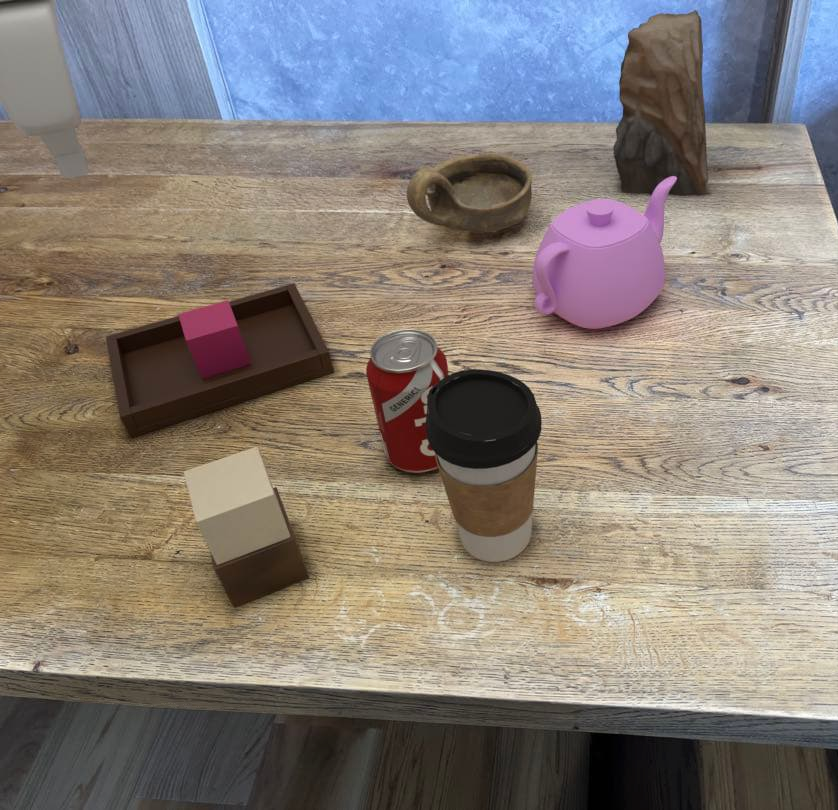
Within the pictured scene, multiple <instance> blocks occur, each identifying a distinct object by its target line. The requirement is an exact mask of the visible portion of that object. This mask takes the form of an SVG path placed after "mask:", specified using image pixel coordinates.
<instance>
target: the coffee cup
mask: <svg viewBox="0 0 838 810" xmlns="http://www.w3.org/2000/svg"><path fill="white" fill-rule="evenodd" d="M542 425H543V424H542V412H541V410H540V407H539V405H538V404H537V400H536V396H535V394H534V393H533V391H532V390H531V388H530V387H529V386H528V385H527V384H526V383H525V382H523V381H522V380H521V379H519V378H516V377H515V376H513V375H510V374H508V373H504V372H500V371H497V370H491V369H483V368H481V369H480V368H477V369H476V368H473V369H463V370H458V371H456V372H452V373H449V375H448V376H447V377H445V378H443V379H442V380H440V381H439V382H438V383H437V384H436V385H434V386H433V387H432V388H431V389H430V391H429V394H428V399H427V416H426V423H425V427H426V433H427V440H428V442H429V445H430V447H431V448H432V449H433V451H434V452H435V457H436V462H437V465H438V468H437V469H438V471H439V475H440V477H441V480H442V484H443V487H444V491H445V493H446V497H447V500H448V503H449V506H450V509H451V512H452V516H453V518H454V520H455V525H456V528H457V532H458V535H459V536H458V537H459V540H460V542H461V544H462V547H463V549H464V550H465V551H466V552H467V553H468V554H469V555H470V556H472V557H473V558H474V559H475V558H476V559H477V560H480V561H483V562H487V563H501V562H505V561H508V560H511V559H514V558H515V557H517V556H518V555H519V554H521V553H523V552H524V550H525V549H526V548H527V546H528V545H529V543H530V541H531V537H532V533H533V532H532V531H533V528H532V527H533V510H534V504H535V491H536V481H537V480H536V479H537V467H538V455H539V454H538V453H539V443H538V441H539V439H540V436H541V433H542V428H543V427H542Z"/></svg>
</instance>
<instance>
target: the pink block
mask: <svg viewBox="0 0 838 810" xmlns="http://www.w3.org/2000/svg"><path fill="white" fill-rule="evenodd" d="M229 301H230V300H228V299H226V300H224V301H220V302H215V303H212V304H209V305H206V306H205V305H204V306H202V307H198V308H195V309H191V310H187V311H185V312H181V313H178V315H177V316H179V319H180V322H181V326H182V329H183V332H184V336H185V339H186V342H187V344H188V347H189V349H190V352H191V354H192V357H193V359H194V361H195V364H196V366H197V369H198V371H199V373H200V376H201V378H202V379H204V378H208V377H211V376H214V375H217V374H221V373H224V372H227V371H230V370H234V369H237V368H240V367H243V366H247V365H250V364H251V361H250V359H249V356H248V353H247V350H246V347H245V344H244V342H243V339H242V336H241V333H240V330H239V327H238V325H237V322H236V319H235V317H234V314H233V312H232V309H231V306H230V304H229Z"/></svg>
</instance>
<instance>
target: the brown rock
mask: <svg viewBox="0 0 838 810" xmlns="http://www.w3.org/2000/svg"><path fill="white" fill-rule="evenodd" d="M702 22H703V21H702V17H701V16H700V15H699V11H698V10H696V9H695V10H692V11H690V12H689V13H677V14H674V13H668V12H667V13H662V12H660V13H657V14H654V15H651V16H650V17H648V20H647V21H646V22H642V23H640V24H639V26H638V27H633V28H632V29H631V30H629V31H628V33H627V40H628V44H627V46H626V50H625V51H624V55H623V60H622V62H621V65H620V76H619V82H618V87H619V91H618V92H619V93H618V95H619V101H620V103H621V106H622V117H621V119H620V121H619V122H618V125H617V127H616V128H615V134H616V140H615V142H614V145H613V148H612V149H613V158H614V159H615V166H616V170H617V174H618V176H619V179H620V183H621V188H620V190H621V192H624V193H628V194H644V193H645V194H647V193H648V194H650V195H652V194H653V192H654V190H655V188H656V187H657V186H658V184H659V183H661V182H662V181H663V180H665V179H666V178H668V177H671V176H676V177H677V180H676V182H675V184H674V185H673V186H672V188H671V189H670V191H669V193H668V195H669V194H671V195H674V196H675V195H676V196H689V195H697V196H698V195H703V196H704V195H707V189H706V186H707V183H708V181H709V169H708V157H707V156H708V152H707V129H706V109H705V98H704V89H703V65H704V63H703V61H704V60H703V59H704V58H703V54H704V44H703V25H702Z"/></svg>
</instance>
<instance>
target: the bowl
mask: <svg viewBox="0 0 838 810" xmlns="http://www.w3.org/2000/svg"><path fill="white" fill-rule="evenodd" d="M532 182H533V175H532V173H531V170H530V169H529V168H528V167H527V166H526V165H525V164H523V163H522V162H521V161H519V160H517V159H515V158H514V157H512V156H509V155H506V154H503V153H496V152H495V153H494V152H485V153H484V152H483V153H479V154H467V155H457V156H455V157H452V158H449V159H447V160H445V161H442V162H441V163H438V165H436V166H435V167H434V168H432V169H431V168H428V167H425V168H422V169H419V170H418V171H416V172H415V173H414V174H413V175H412V177H411V178H410V180H409V181H408V185H407V188H406V200H407V203H408V205H409V207H410V209H411V211H412V212H413V213H414V214H415V215H416V216H417V217H418V218H420V219H421V220H423V221H425V222H427V223H429V224H431V225H432V224H433V225H435V226H440V227H441V226H442V227H445V228H447V229H453V230H458V231H463V232H468V233H477V234H479V233H482V234H483V233H491V232H492V233H496V232H497V231H499V230H502V229H506V228H509V227H511V226H513V225H514V226H515V225H516V224H519V223H520V222H522V221H523V220H524V219H525V217H526V215H527V213H528V212H529V209H530V206H531V202H532V197H533V192H532V191H533V190H532ZM426 197H427V199H428V204H429V206H428V204H427V199H426Z"/></svg>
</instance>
